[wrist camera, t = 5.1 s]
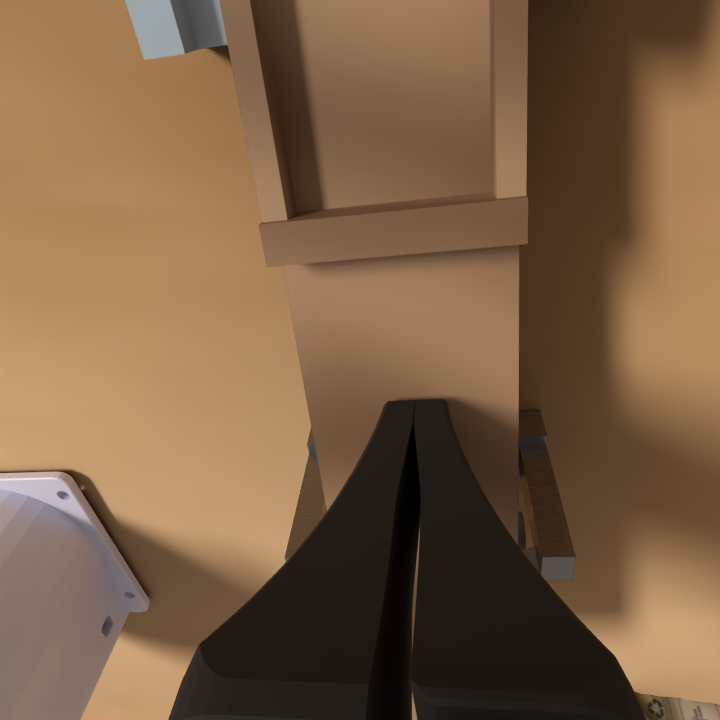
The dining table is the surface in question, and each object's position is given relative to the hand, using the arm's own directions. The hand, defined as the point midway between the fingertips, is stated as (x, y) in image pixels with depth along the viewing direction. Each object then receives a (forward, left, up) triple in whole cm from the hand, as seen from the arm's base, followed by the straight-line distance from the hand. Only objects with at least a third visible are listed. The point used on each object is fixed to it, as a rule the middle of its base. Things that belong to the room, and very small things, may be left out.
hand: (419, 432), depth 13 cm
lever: (-2, 0, -3) cm, 3 cm away
